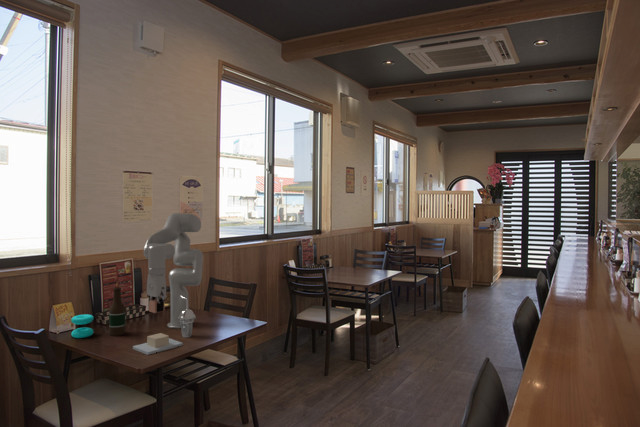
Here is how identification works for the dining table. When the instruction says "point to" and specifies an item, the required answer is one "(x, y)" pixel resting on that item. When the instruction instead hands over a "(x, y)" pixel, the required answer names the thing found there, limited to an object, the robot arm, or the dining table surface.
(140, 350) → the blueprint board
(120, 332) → the beer bottle
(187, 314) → the cup with straw
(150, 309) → the terracotta block
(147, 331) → the dining table surface
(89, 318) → the turquoise yo-yo
